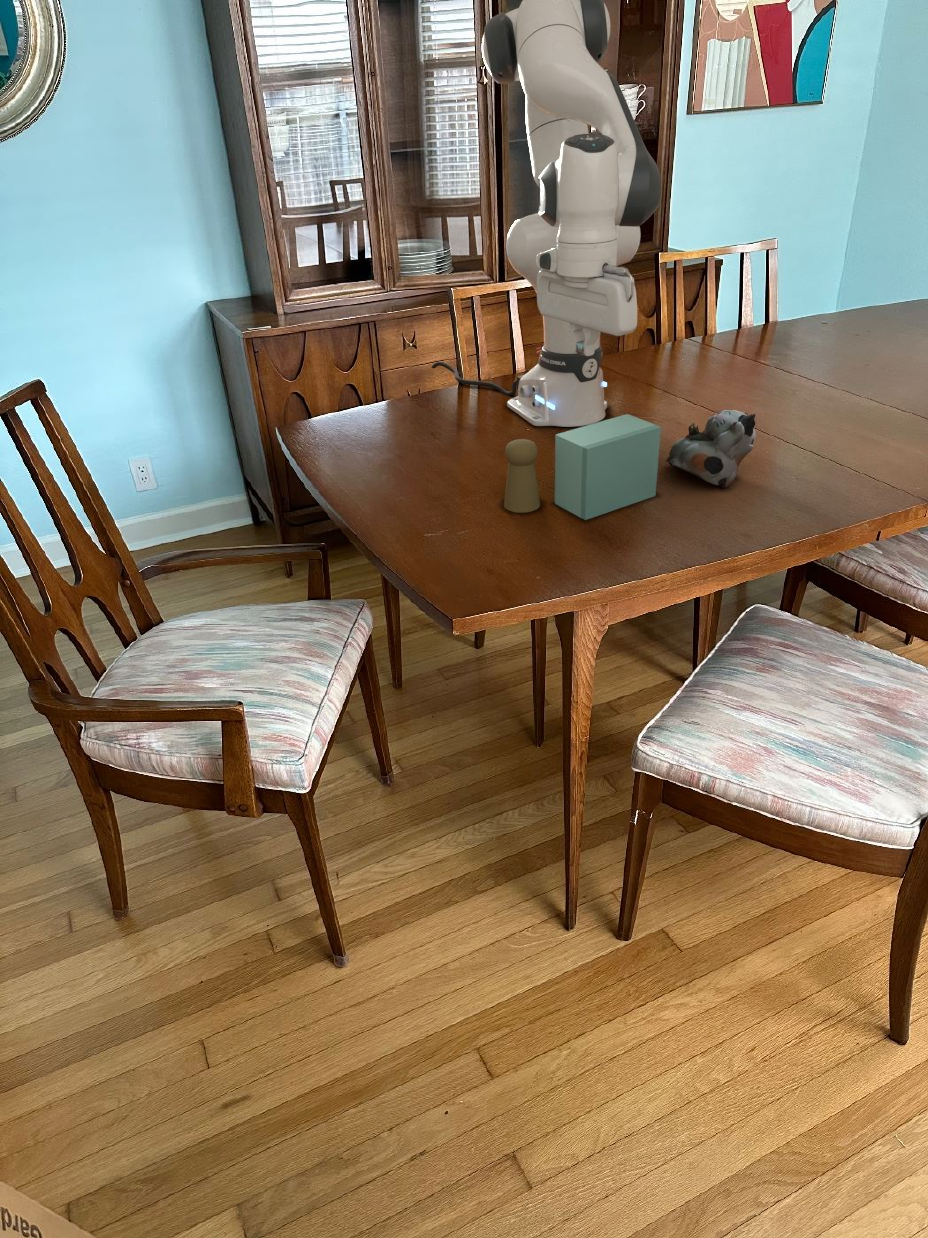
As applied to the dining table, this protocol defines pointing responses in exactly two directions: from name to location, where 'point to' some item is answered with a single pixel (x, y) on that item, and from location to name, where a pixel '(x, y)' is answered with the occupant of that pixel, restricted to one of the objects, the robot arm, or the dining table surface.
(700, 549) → the dining table surface
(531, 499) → the cork
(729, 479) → the lucky cat figurine
